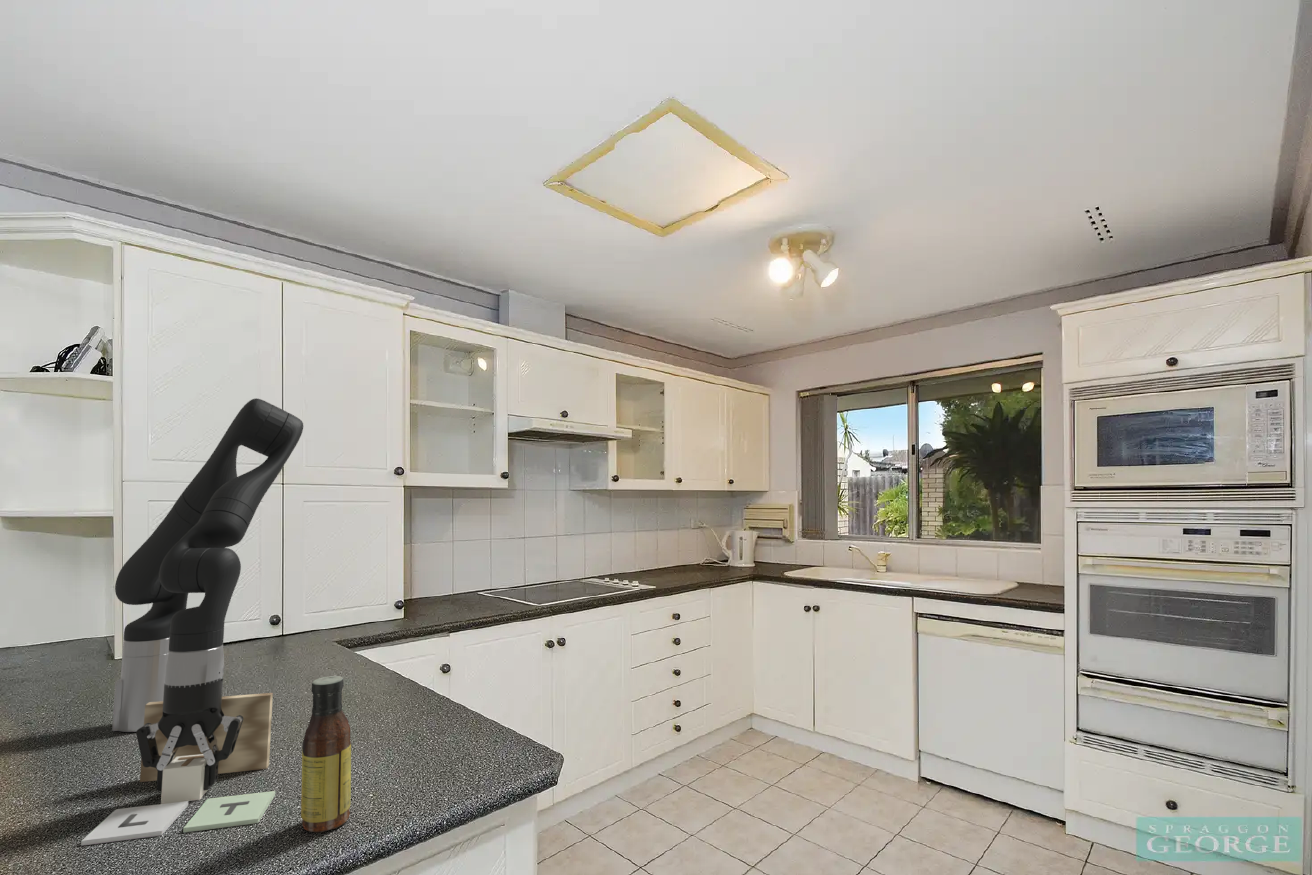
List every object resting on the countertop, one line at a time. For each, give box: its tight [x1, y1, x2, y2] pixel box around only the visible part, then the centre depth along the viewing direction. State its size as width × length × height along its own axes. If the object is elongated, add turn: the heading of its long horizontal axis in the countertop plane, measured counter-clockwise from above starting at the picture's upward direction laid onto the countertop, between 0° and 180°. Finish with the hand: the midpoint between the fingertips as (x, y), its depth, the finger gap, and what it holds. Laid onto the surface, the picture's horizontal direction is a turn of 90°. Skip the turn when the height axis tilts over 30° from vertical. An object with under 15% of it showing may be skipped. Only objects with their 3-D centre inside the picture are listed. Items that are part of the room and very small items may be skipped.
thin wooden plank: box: [139, 692, 274, 783], centre depth 108 cm, size 18×2×12 cm, turn 107°
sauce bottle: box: [300, 675, 352, 834], centre depth 92 cm, size 7×6×20 cm
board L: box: [80, 801, 189, 846], centre depth 91 cm, size 9×9×1 cm
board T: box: [182, 790, 276, 834], centre depth 94 cm, size 9×9×1 cm
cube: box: [160, 754, 209, 804], centre depth 100 cm, size 5×5×5 cm
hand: (187, 789), depth 100 cm, fingers closed on cube, 5 cm apart
